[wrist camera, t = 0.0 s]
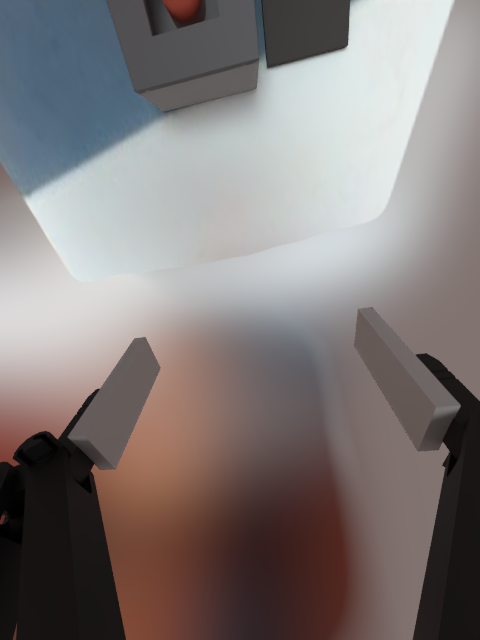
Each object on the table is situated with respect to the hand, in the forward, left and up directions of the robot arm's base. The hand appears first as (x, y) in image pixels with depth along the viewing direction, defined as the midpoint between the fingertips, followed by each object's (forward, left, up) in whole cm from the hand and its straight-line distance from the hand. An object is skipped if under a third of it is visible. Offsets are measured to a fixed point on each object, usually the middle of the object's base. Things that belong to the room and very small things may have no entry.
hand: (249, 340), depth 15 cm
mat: (-23, +10, -28) cm, 37 cm away
